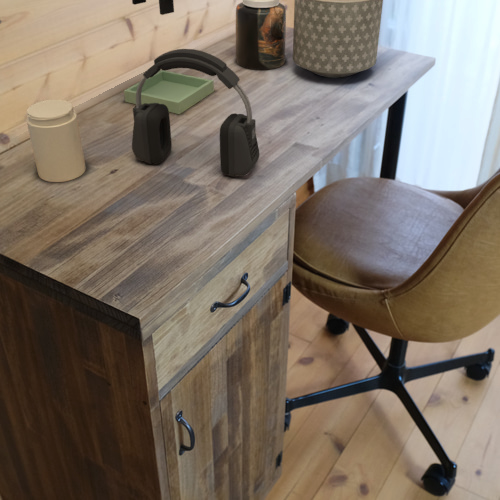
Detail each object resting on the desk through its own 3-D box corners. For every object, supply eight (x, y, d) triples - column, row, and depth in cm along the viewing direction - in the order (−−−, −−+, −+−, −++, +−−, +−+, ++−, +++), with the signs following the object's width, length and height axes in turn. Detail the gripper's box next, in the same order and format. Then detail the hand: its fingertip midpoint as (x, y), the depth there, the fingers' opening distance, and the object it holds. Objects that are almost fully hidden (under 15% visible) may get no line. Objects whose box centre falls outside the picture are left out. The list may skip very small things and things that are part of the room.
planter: (309, 53, 160) (313, -25, 149) (384, 64, 153) (394, -17, 143) (279, 79, 146) (281, -5, 135) (360, 92, 139) (369, 5, 129)
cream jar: (28, 175, 110) (13, 112, 103) (60, 156, 116) (48, 95, 109) (64, 186, 107) (51, 122, 100) (95, 166, 113) (85, 104, 106)
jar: (230, 68, 152) (229, 1, 143) (242, 51, 161) (241, -12, 152) (280, 71, 149) (281, 4, 141) (288, 55, 159) (290, -9, 150)
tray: (125, 101, 136) (123, 90, 134) (162, 80, 145) (161, 69, 144) (179, 114, 130) (178, 102, 129) (214, 91, 140) (213, 80, 139)
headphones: (130, 163, 114) (116, 50, 102) (145, 147, 119) (134, 38, 107) (250, 182, 108) (250, 65, 96) (261, 164, 113) (262, 51, 101)
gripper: (89, -132, 115) (106, 0, 128) (158, -122, 102) (169, 24, 115) (125, -135, 119) (138, -7, 132) (196, -125, 106) (202, 16, 119)
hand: (152, 7), depth 124 cm, fingers closed on lid, 9 cm apart
